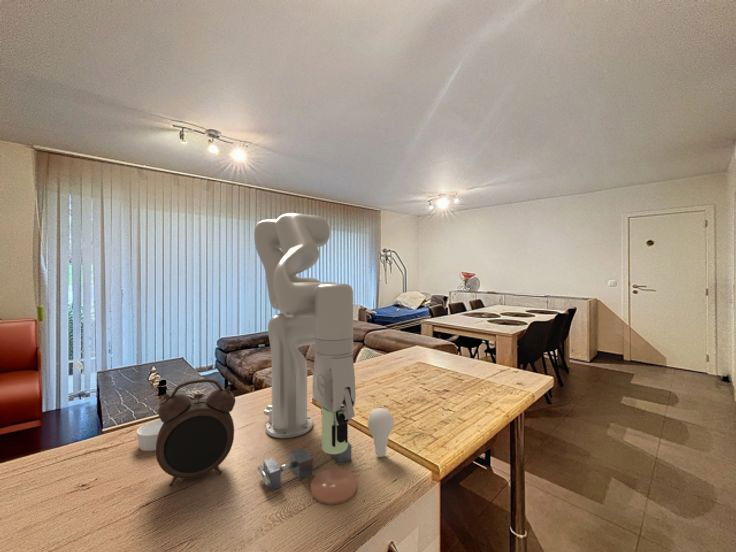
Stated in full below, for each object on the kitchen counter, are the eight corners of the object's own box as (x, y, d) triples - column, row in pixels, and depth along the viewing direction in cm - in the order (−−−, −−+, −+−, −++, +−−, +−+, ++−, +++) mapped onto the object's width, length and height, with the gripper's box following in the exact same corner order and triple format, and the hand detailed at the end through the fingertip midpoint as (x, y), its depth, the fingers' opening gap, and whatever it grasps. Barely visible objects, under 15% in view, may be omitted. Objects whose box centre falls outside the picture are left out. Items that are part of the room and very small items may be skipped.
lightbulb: (392, 465, 69) (392, 416, 69) (364, 462, 70) (364, 413, 70) (395, 450, 75) (395, 404, 75) (370, 447, 76) (370, 402, 76)
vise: (257, 477, 65) (257, 460, 65) (339, 448, 75) (339, 434, 75) (265, 494, 60) (265, 476, 60) (352, 461, 70) (352, 445, 70)
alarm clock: (153, 498, 59) (152, 392, 59) (158, 476, 65) (158, 380, 65) (236, 475, 66) (236, 380, 65) (234, 457, 72) (233, 370, 72)
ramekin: (144, 457, 72) (144, 438, 72) (131, 445, 77) (131, 427, 77) (185, 441, 79) (185, 424, 79) (170, 430, 85) (170, 414, 84)
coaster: (301, 493, 60) (301, 488, 60) (329, 468, 68) (329, 463, 68) (340, 511, 56) (340, 505, 56) (365, 482, 63) (365, 477, 63)
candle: (340, 438, 65) (340, 398, 65) (352, 449, 61) (351, 407, 61) (318, 445, 62) (317, 404, 62) (328, 457, 58) (328, 413, 58)
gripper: (300, 341, 66) (300, 428, 66) (337, 357, 53) (337, 467, 53) (332, 337, 71) (332, 419, 70) (373, 351, 57) (374, 453, 57)
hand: (334, 438), depth 62 cm, fingers closed on candle, 3 cm apart
